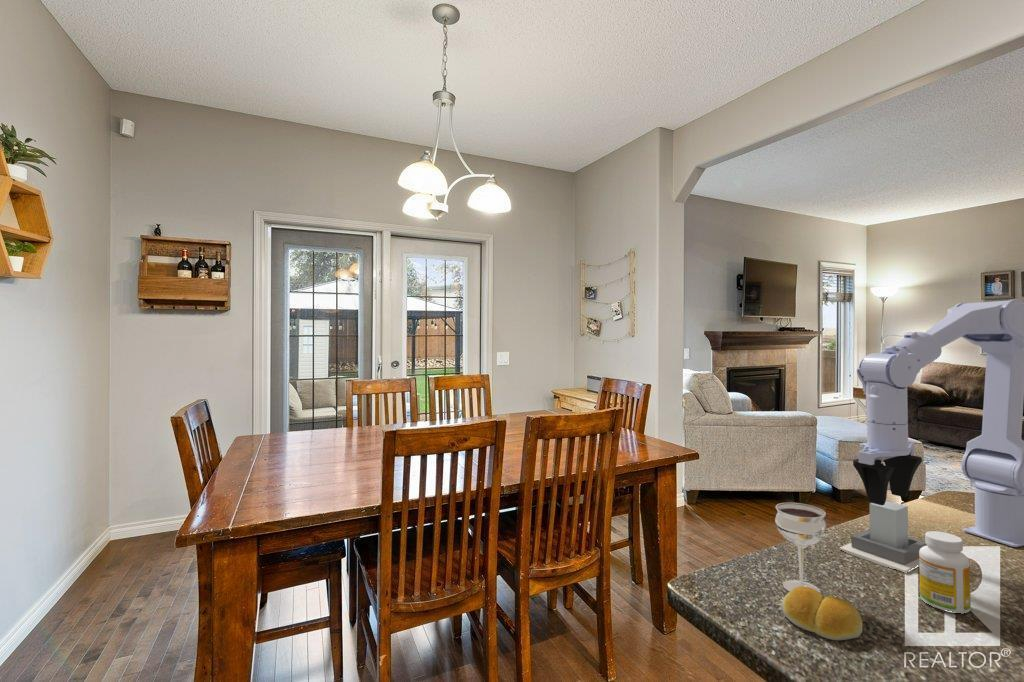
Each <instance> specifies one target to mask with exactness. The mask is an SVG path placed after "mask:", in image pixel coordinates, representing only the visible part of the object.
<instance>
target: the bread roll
mask: <svg viewBox="0 0 1024 682" xmlns="http://www.w3.org/2000/svg"><path fill="white" fill-rule="evenodd" d="M780 606H781V612H782V614H783V616H785V617H786V618H787V620H789V621H790V622H791V623H792V624H793V625H794V626H796V627H798V628H800V629H803V630H804V631H805V630H806V631H808V632H811V633H815V634H816V635H817V636H820V637H822V638H824V639H828V640H831V641H846V640H852V639H857V638H859V637H860V636H861V634H862V633H863V625H864V624H863V619H862V616H861V614H860V612H859V611H858V610H857V609H856V608H855V606H854V605H852V604H851V603H850V602H848V601H846V600H845V599H842V598H840V597H837V596H831V595H828V596H825V595H823V593H820V592H818V591H817V590H815V589H813V588H810V587H803V586H798V587H796V588H794V589H792V590H791V591H788V592H787V594H785V596H784V597H783V599H782V600H781V605H780Z"/></svg>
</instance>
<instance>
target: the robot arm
mask: <svg viewBox="0 0 1024 682" xmlns="http://www.w3.org/2000/svg"><path fill="white" fill-rule="evenodd" d="M960 338H962V339H964V340H965V341H968V342H969V343H971V344H973V345H975V346H979V348H981V349H982V350H983V351H984V352H985V353H986V360H985V373H984V374H985V377H984V390H983V391H984V393H983V408H982V426H981V434H980V435H979V436H976V437H975V438H972V439H970V440H969V441H967V442H966V447H965V451H964V455H963V456H962V458H961V461H960V466H961V467H960V468H961V471H962V474H963V475H964V476H965V478H966V479H968V480H969V485H973V486H974V526H970V527H964V528H963V529H962V531H963V532H964V533H968V534H972V535H974V536H978V537H981V538H984V539H987V540H990V541H993V542H997V543H1000V544H1003V545H1006V546H1009V547H1014V548H1019V547H1023V546H1024V439H1022V433H1023V432H1022V430H1023V416H1024V415H1023V414H1024V300H1022V299H1019V298H1017V299H1016V298H1015V299H1013V298H1012V299H1009V300H997V301H981V302H980V301H979V302H978V301H977V302H959V303H956V304H954V306H953V307H950V308H948V309H947V312H946V316H945V317H943V318H942V319H941V320H939V321H938V322H936V323H935V324H934V325H933V326H932V327H930V328H929V329H927V330H926V331H924V332H923V331H907V332H906V333H904V334H903V338H902V339H899V340H898V341H897V342H895V343H893V344H892V345H889V344H888V345H887V346H886V347H885V348H884V350H882V351H881V352H879V353H875V352H873V353H869V354H867V355H866V356H865V357H863V358H862V359H861V360H860V362H859V364H858V368H856V374H857V377H858V380H859V381H860V383H861V384H862V392H863V394H865V400H866V401H865V402H866V405H865V407H866V409H865V410H866V442H861V443H859V448H862V449H861V450H860V451H859V450H858V458H856V459H853V460H852V466H853V467H854V468H855V470H856V471H857V473H858V474H859V476H860V478H861V481H862V484H863V486H864V490H865V492H866V496H867V499H868V502H869V504H870V503H874V504H878V505H885V502H886V501H887V497H888V496H887V495H888V487H889V488H890V493H891V495H892V496H893V495H894V496H898V497H901V498H907V497H908V496H909V492H910V489H911V485H912V481H913V479H914V476H915V473H916V471H917V470H918V468H919V467H920V465H921V464H922V461H923V458H922V457H921V456H919V455H918V456H917V455H914V454H915V453H916V452H915V451H916V449H915V447H916V446H915V442H910V441H909V417H908V411H909V410H908V387H911V386H912V385H913V384H914V382H915V381H916V378H917V376H918V374H919V373H920V372H921V369H924V368H925V367H927V366H928V365H929V364H931V363H933V362H934V361H936V360H937V359H939V357H940V356H941V355H942V348H943V347H945V346H947V345H949V344H950V343H953V342H955V341H956V340H958V339H960ZM882 461H883V463H882Z"/></svg>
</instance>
